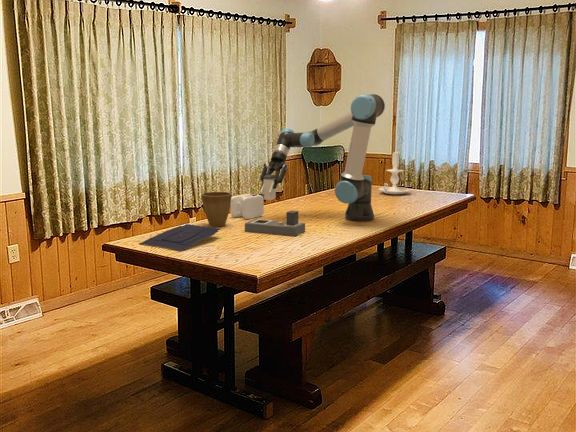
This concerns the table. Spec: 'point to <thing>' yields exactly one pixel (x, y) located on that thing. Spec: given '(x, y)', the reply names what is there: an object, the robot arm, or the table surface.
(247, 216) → the white lumpy block
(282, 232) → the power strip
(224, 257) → the table surface
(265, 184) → the plug
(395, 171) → the candlestick
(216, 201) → the plant pot
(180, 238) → the dark blue folded cloth
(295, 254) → the table surface
